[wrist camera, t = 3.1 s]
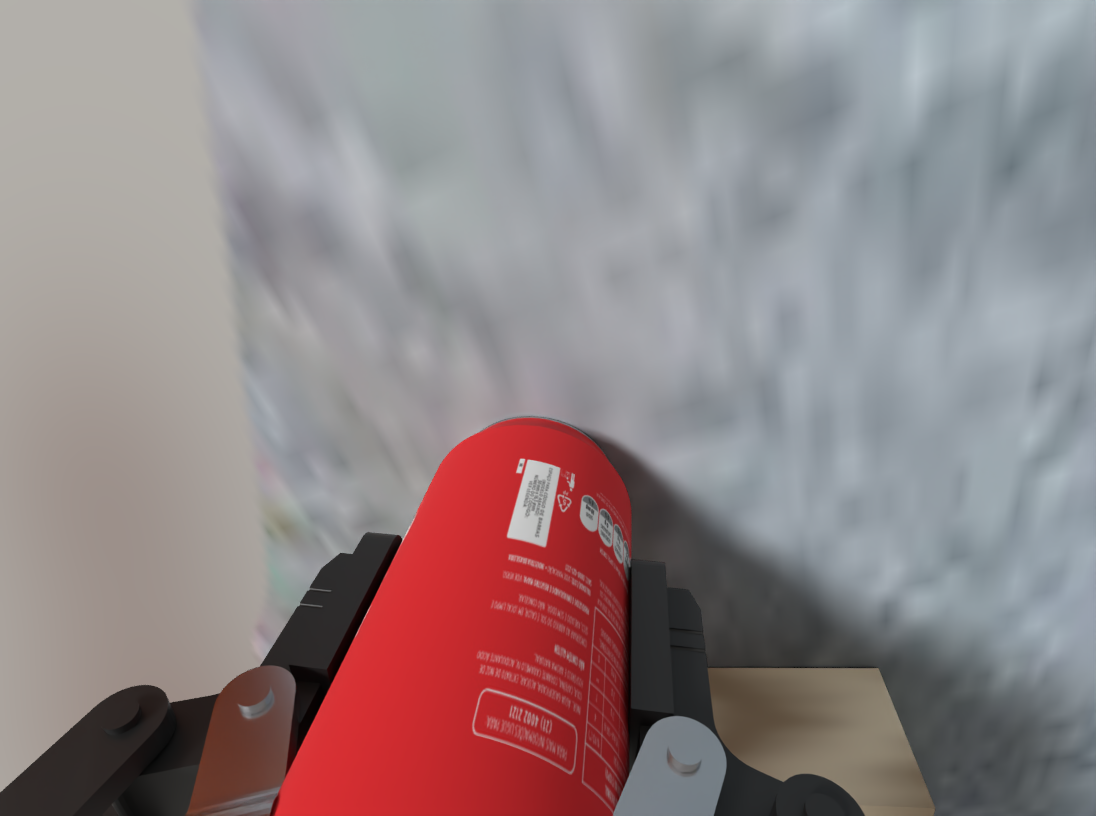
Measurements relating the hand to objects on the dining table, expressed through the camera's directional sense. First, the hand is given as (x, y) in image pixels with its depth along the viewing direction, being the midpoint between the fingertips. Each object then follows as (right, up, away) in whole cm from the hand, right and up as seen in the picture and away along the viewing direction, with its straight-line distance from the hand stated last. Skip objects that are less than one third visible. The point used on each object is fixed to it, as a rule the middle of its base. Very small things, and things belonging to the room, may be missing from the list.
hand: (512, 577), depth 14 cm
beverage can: (0, +2, +3) cm, 4 cm away
